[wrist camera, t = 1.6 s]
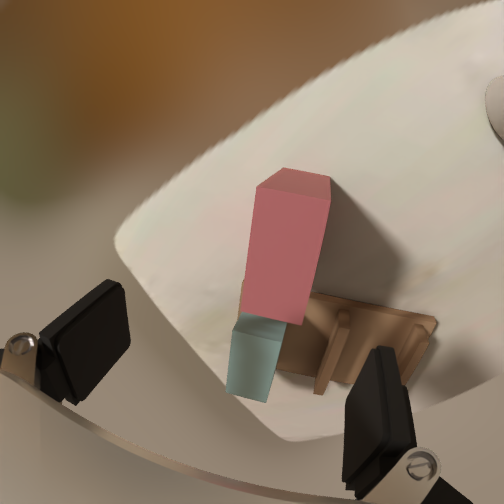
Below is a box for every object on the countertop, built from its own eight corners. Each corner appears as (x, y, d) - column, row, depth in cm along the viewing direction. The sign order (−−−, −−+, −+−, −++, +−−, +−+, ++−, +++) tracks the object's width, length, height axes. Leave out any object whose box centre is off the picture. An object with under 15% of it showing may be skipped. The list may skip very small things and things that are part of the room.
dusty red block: (329, 176, 24) (331, 201, 15) (312, 262, 27) (301, 325, 18) (283, 167, 25) (256, 186, 16) (270, 253, 28) (240, 311, 19)
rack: (433, 316, 26) (452, 362, 20) (397, 383, 30) (404, 430, 24) (245, 276, 29) (221, 317, 23) (235, 351, 34) (215, 395, 27)
